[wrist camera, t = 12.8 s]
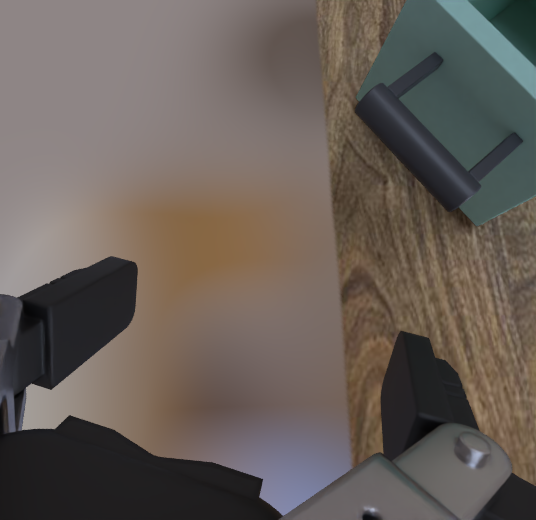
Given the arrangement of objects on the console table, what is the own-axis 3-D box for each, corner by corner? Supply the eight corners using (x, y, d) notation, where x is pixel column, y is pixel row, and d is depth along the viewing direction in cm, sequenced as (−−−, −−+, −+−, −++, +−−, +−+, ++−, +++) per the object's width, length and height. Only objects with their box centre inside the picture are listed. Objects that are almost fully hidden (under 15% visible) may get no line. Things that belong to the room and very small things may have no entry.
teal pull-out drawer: (421, 279, 22) (526, 237, 14) (296, 140, 23) (333, 35, 16) (613, 97, 27) (768, -6, 19) (502, -11, 28) (607, -147, 20)
